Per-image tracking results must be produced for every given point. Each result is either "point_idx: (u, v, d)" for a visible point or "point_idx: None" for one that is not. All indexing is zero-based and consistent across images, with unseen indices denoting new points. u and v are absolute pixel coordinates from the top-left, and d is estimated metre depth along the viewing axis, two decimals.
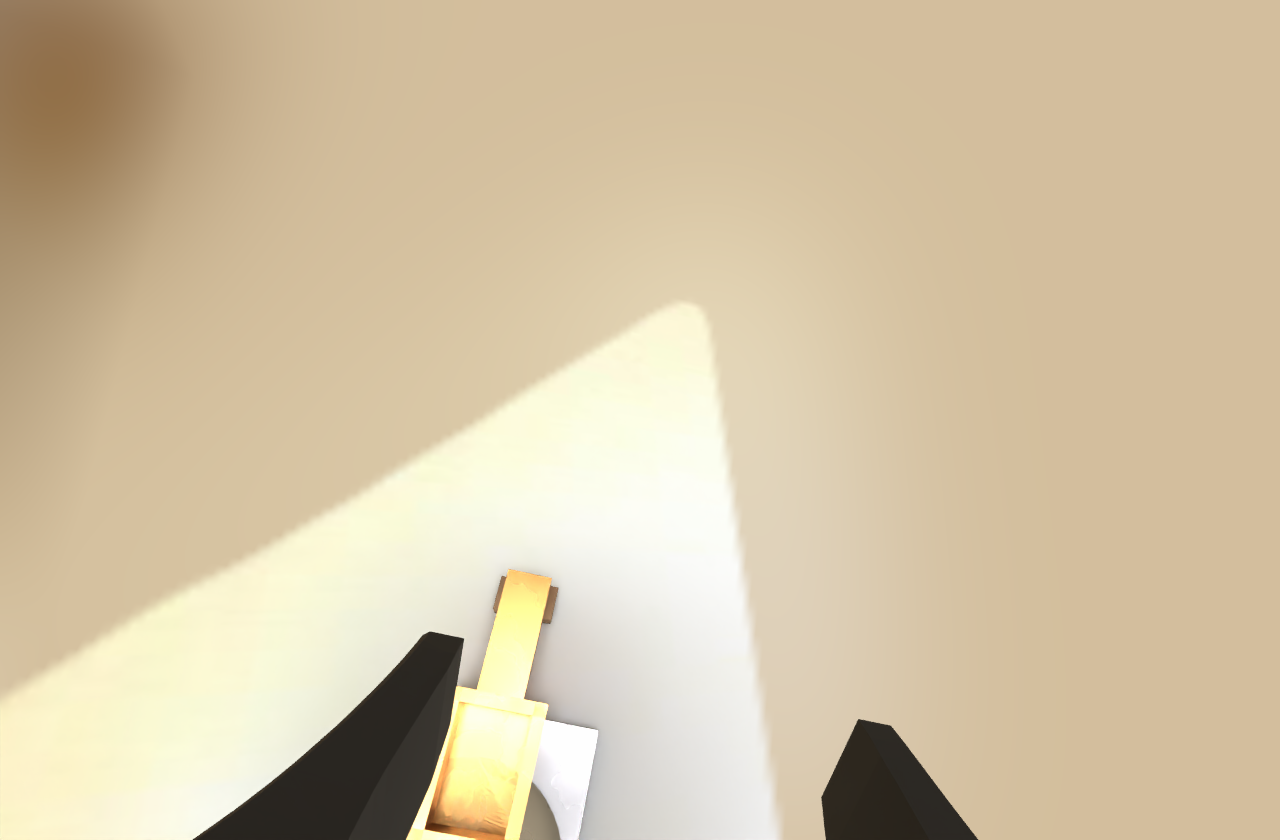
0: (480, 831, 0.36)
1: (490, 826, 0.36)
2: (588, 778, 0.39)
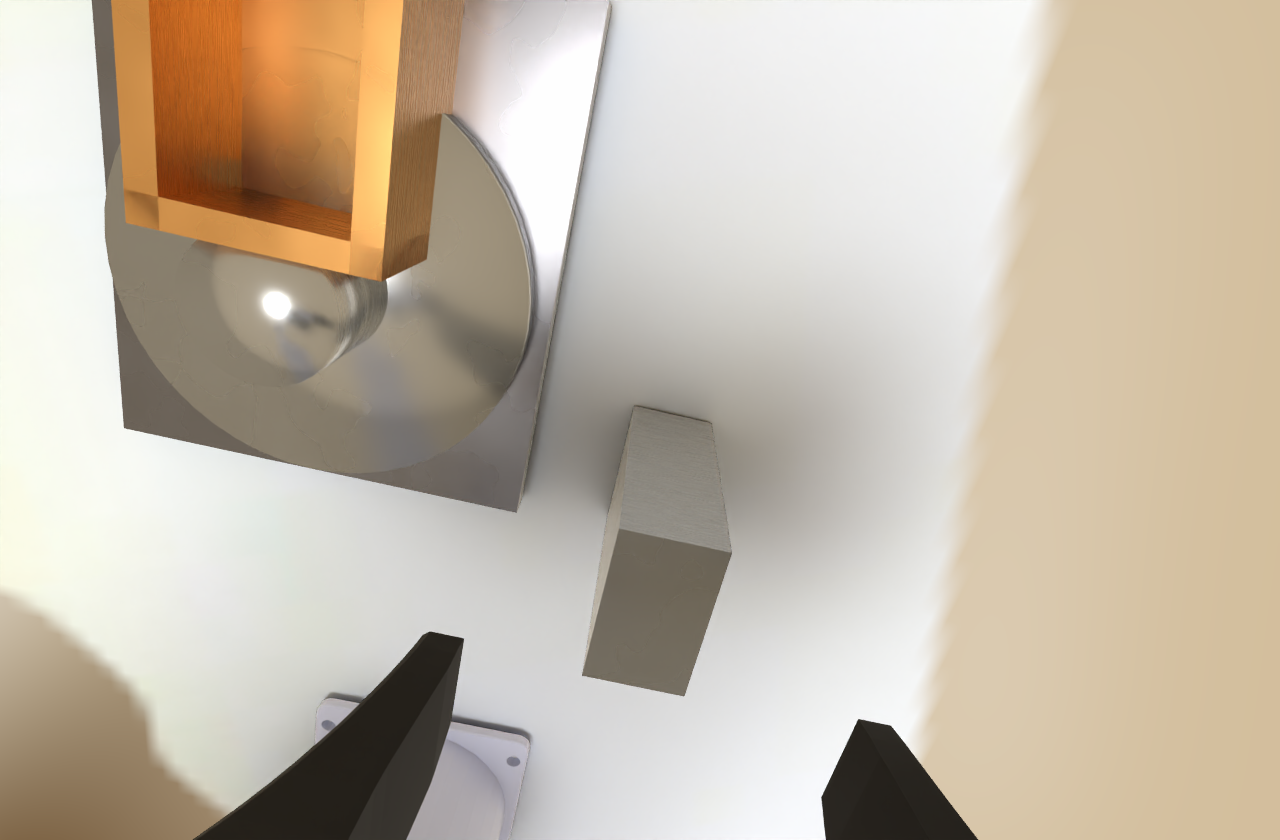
0: (346, 212, 0.17)
1: None
2: (584, 118, 0.17)
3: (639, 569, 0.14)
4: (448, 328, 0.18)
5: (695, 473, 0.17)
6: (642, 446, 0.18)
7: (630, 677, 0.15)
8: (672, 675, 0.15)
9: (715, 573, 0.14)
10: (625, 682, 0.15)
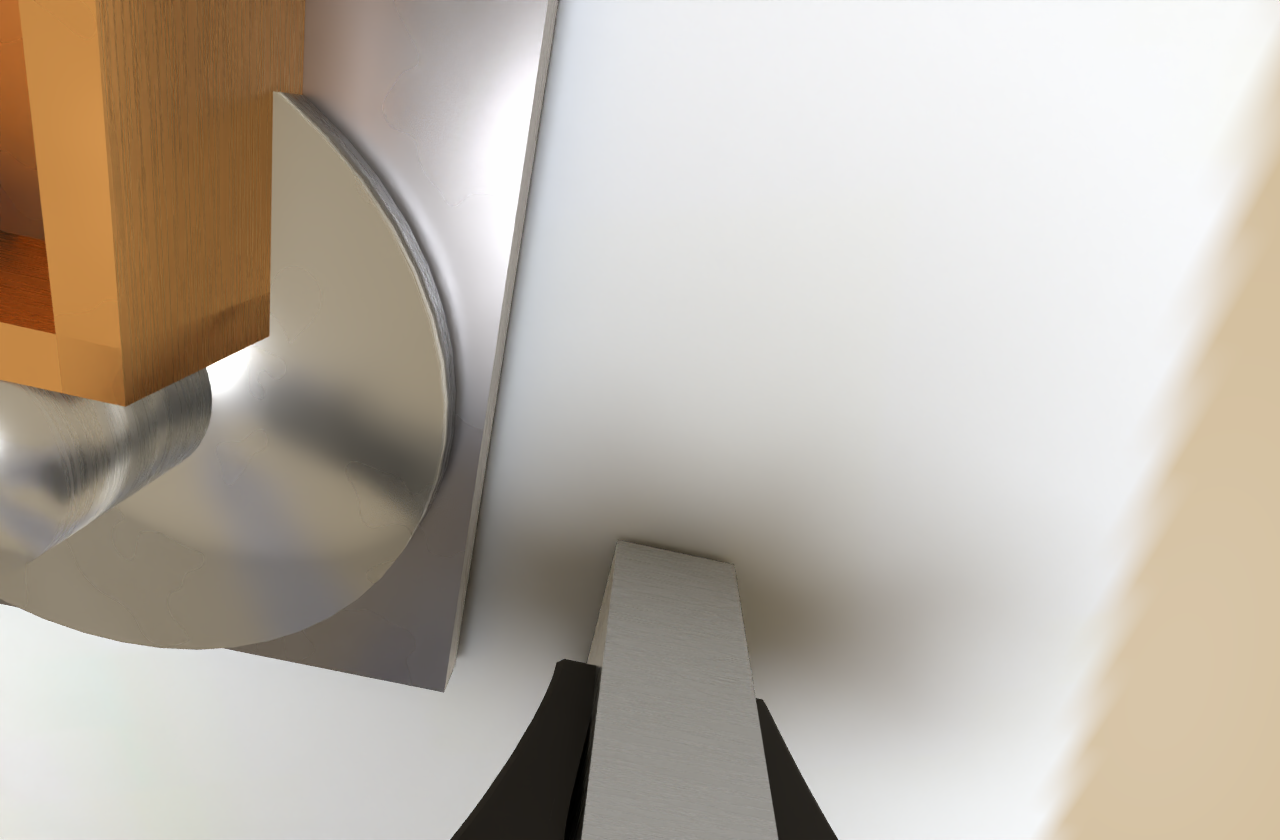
0: None
1: None
2: (527, 101, 0.10)
3: None
4: (314, 443, 0.11)
5: (715, 696, 0.10)
6: (627, 637, 0.11)
7: None
8: None
9: None
10: None
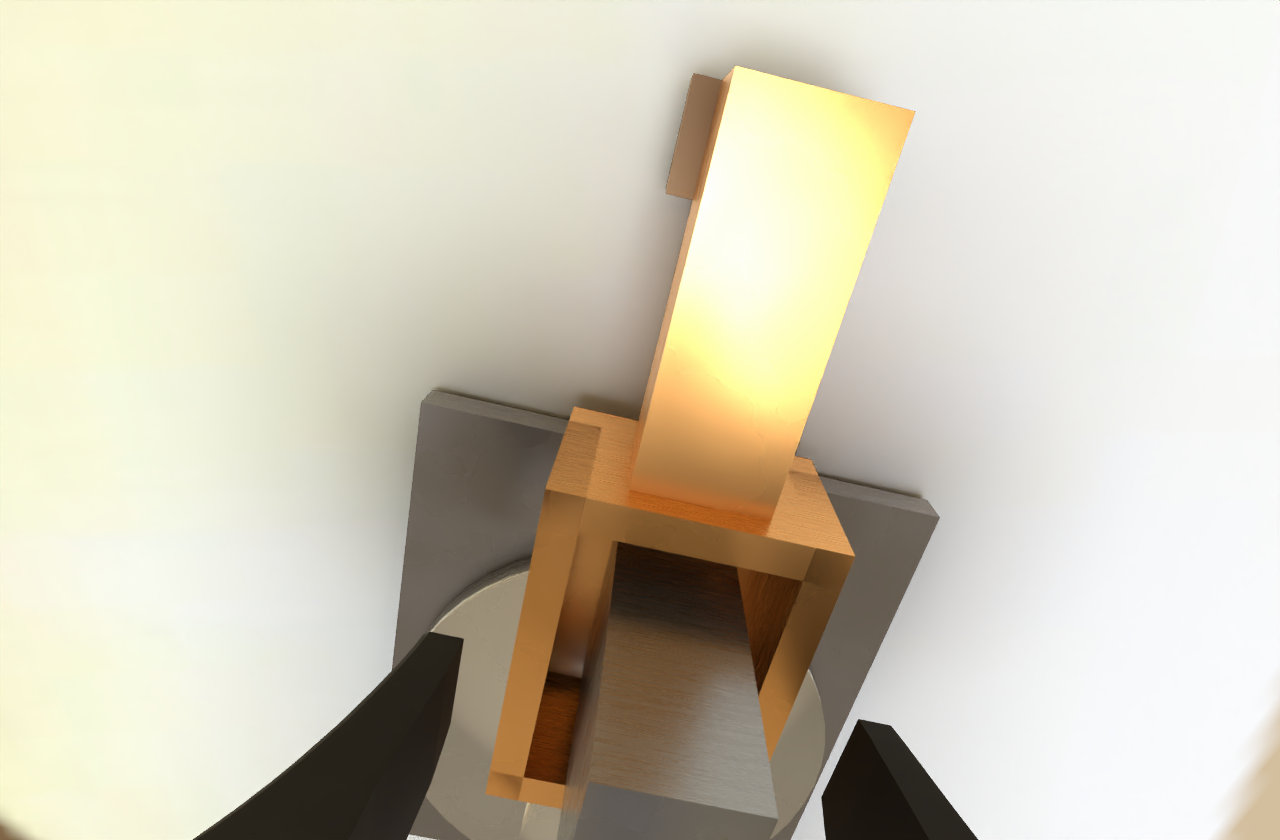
0: None
1: None
2: (895, 605, 0.16)
3: (622, 839, 0.09)
4: None
5: (712, 628, 0.11)
6: (632, 579, 0.12)
7: None
8: None
9: None
10: None
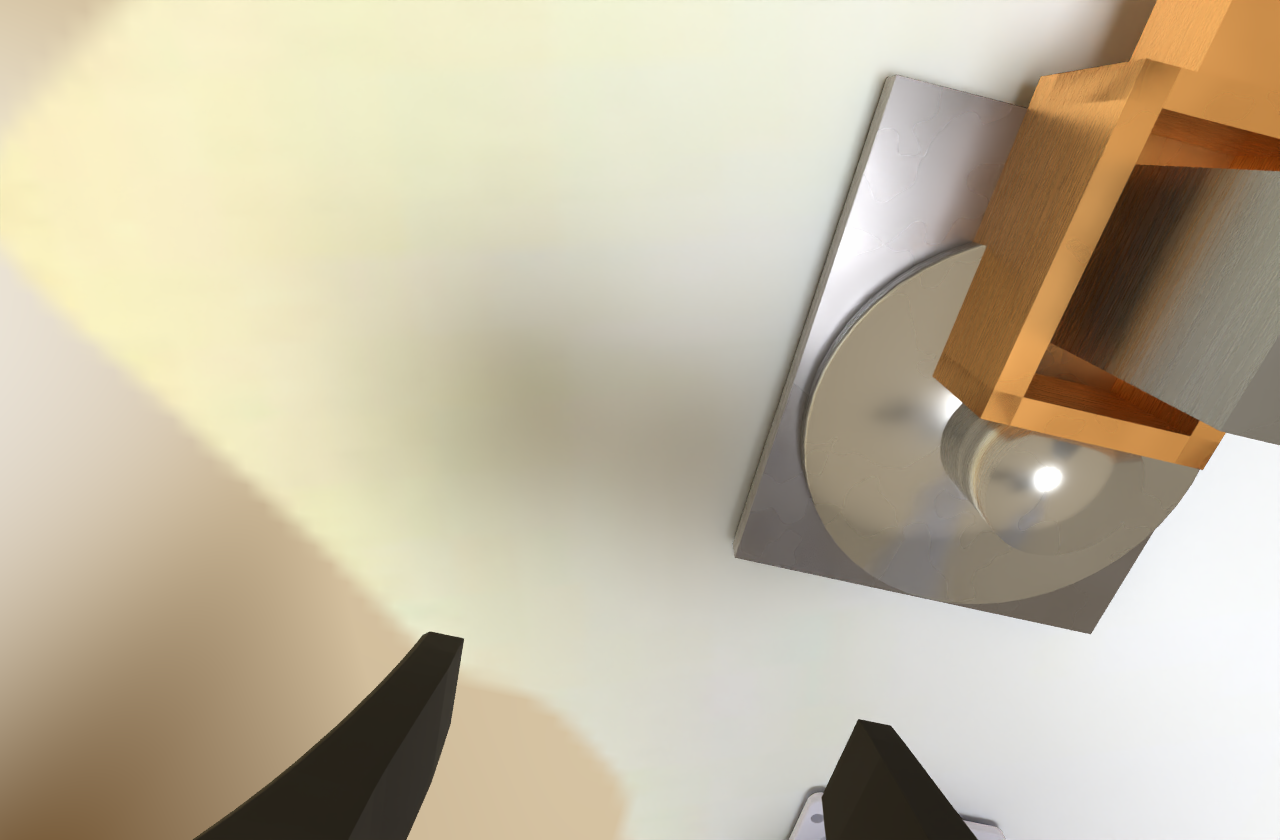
0: (1064, 380, 0.18)
1: (1084, 372, 0.18)
2: None
3: None
4: None
5: None
6: None
7: None
8: None
9: None
10: (1279, 441, 0.11)
